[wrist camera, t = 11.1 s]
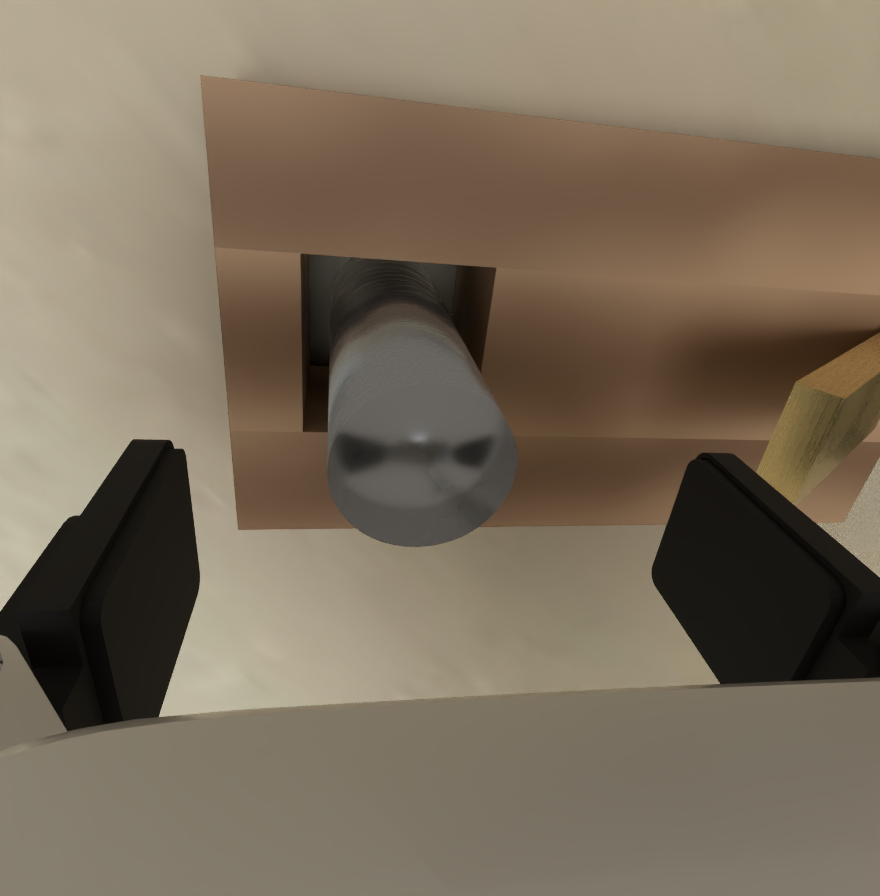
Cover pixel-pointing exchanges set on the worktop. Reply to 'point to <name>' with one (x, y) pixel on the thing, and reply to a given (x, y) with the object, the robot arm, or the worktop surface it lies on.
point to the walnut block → (541, 289)
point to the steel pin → (409, 412)
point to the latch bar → (824, 421)
